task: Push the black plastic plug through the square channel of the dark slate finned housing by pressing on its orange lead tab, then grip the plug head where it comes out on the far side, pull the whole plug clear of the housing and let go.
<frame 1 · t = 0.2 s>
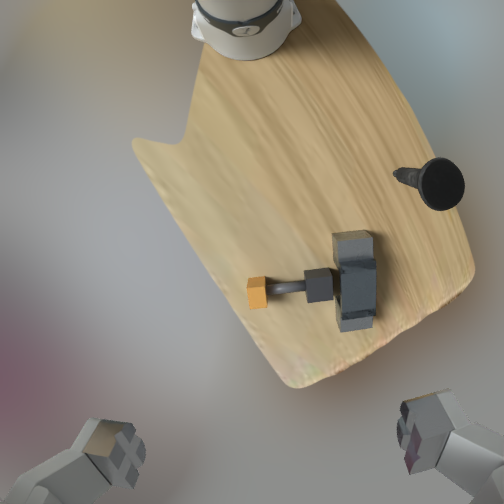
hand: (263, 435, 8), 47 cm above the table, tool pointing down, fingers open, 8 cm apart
plug: (316, 280, 57), on the table
housing: (350, 276, 57), on the table
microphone: (394, 173, 51), on the table
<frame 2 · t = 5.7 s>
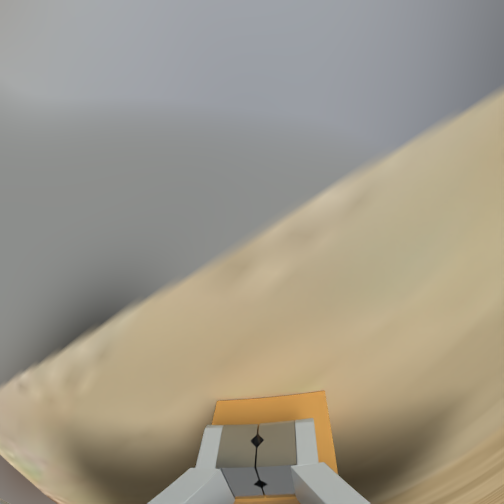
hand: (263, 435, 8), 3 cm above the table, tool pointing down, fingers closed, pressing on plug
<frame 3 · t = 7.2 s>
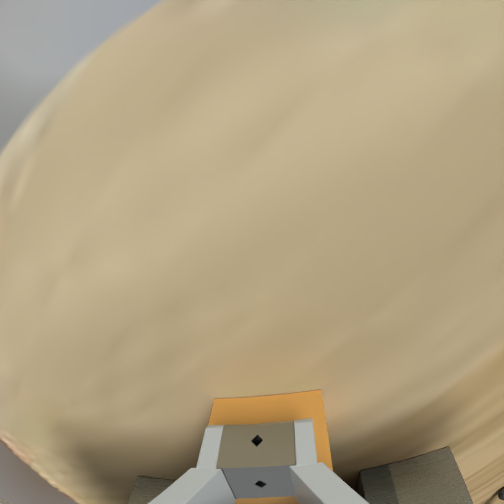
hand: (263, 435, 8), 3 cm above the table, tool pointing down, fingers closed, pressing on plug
housing: (295, 503, 14), on the table
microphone: (501, 486, 15), on the table
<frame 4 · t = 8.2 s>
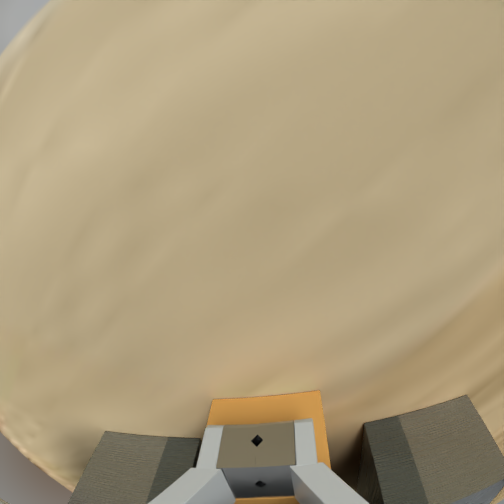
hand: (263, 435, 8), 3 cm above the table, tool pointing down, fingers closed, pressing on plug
housing: (287, 470, 12), on the table
when the fingers open (2 cm above the table, at t = 17.5 s): plug stays where it is, on the table.
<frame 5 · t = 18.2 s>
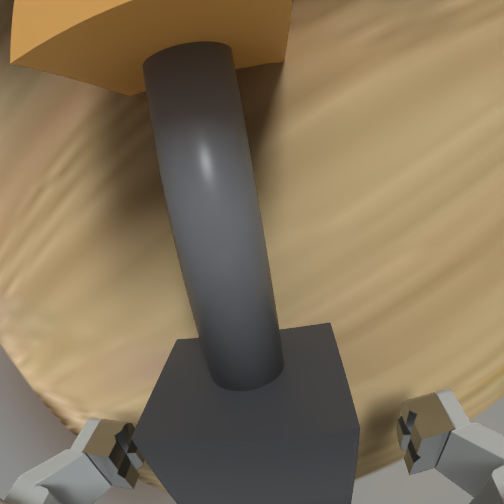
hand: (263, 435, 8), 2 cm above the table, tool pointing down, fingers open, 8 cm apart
plug: (263, 389, 10), on the table
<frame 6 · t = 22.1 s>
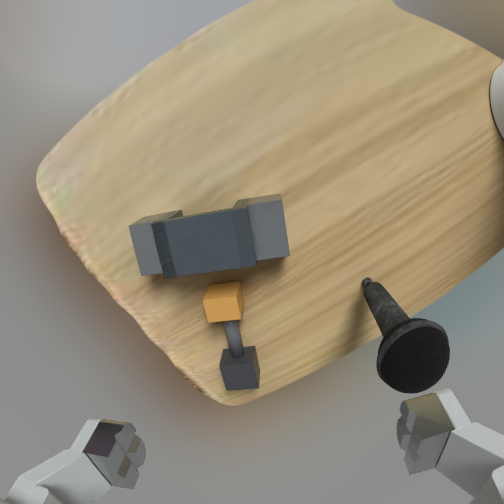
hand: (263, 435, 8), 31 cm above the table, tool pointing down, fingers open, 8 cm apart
plug: (242, 360, 44), on the table
housing: (213, 229, 39), on the table
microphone: (365, 280, 40), on the table
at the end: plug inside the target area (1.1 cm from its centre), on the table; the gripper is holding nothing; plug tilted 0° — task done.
